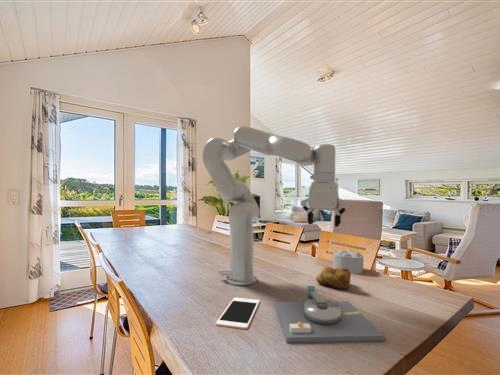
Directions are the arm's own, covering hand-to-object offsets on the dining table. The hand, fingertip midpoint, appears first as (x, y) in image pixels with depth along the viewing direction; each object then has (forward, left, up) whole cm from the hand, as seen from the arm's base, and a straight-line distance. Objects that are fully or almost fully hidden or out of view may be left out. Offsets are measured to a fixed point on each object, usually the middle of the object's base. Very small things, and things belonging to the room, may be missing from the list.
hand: (323, 225), depth 96 cm
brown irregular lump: (+6, +6, -24) cm, 26 cm away
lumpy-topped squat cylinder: (+20, +26, -24) cm, 41 cm away
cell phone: (-31, -16, -25) cm, 42 cm away
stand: (-8, -22, -24) cm, 33 cm away
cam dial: (-8, -18, -23) cm, 30 cm away
